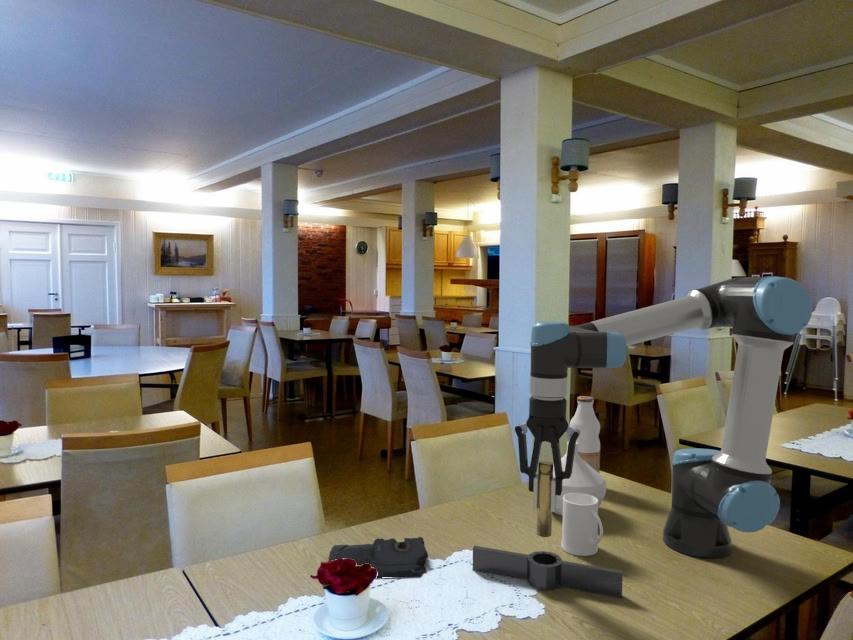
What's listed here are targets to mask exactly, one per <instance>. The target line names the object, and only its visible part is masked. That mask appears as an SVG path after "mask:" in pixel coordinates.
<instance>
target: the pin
mask: <svg viewBox="0 0 853 640" xmlns="http://www.w3.org/2000/svg"><path fill="white" fill-rule="evenodd" d="M553 464H554V463H553V462H551V461H542V460H541V461H538V469H537V472H538V474H537V475H538V506H537V509H536V510H537V512H536V514H537V515H536V535H537V536H539V537H541V538H549V537H551V536H552V526H553V522H552V520H553V512H551V485H552V479H553Z"/></svg>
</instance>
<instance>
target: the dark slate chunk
mask: <svg viewBox="0 0 853 640" xmlns="http://www.w3.org/2000/svg"><path fill="white" fill-rule="evenodd" d="M428 557H429V555H428V551H427V548H426V547H425V541H424V537H421V536H418V537H411V538H410V537H404V541H397V540H396V538H389V539H384V538H376V539H375V540H374V541H373V543H365V544H362V543H361V544H335V545H333V546H332V548H331V549H330V550H329V556H328V562H329V561H331V560H335V559H340V558H351V559H354V560H355V561H356V563H357V565H362V564H365V563H369V564H371V566H372V567H374V568H376V569H377V571H378V576H377V579H376V580H379V579H378V578H381V579H382V577H407V578H420V577H422V575H423V574H427V573H426V572H427V571H426V570H427V569H426V564H427V559H428ZM424 565H425V566H424Z"/></svg>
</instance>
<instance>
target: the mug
mask: <svg viewBox="0 0 853 640" xmlns="http://www.w3.org/2000/svg"><path fill="white" fill-rule="evenodd" d="M561 527H562V528H561V529H562V531H561V533H562V535H561V544H560V547H561V549H562V550H563V551H564V552H566V553H568V554H570V555H574V556H577V557H589V556H594V555H596V554H597V553H598V552H599V547H598V545H599V543H600V542H601V541H602V539H603V535H604V527H603V523H602V520H601V518H600V516H599V507H598V499H597V498H596V497H594V496H591V495H588V494H583V493H570V494H566V495H564V497H563V516H562V526H561ZM598 527H599V535H598Z"/></svg>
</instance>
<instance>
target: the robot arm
mask: <svg viewBox="0 0 853 640" xmlns="http://www.w3.org/2000/svg"><path fill="white" fill-rule="evenodd" d="M812 314H813V302H812V299H811V297H810V294H809V292H808V291H807V290H806V288H805V287H804V285H802V283H800V282H798V281H797V280H794V279H792V278H790V277H782V276H776V275H775V276H774V275H773V276H772V275H768V276H751V277H750V276H748V277H746V276H739V277H734V278H733V277H732V278H729V279H725V280H723V281H719V282H716V283H713V284H710V285H707V286H703V287H700V288H696V289H693V290H691V291H689V292H688V293H687V295H686V296H684V297H680V298H677V299H676V298H675V299H672V300H669V301H664V302H662V303H657V304H654V305H649V306H646V307H642V308H637V309H635V310H631V311H627V312H623V313H619V314H616V315H613V316H608V317H603V318H600V319H597V320H593V321H590V322H586V323H582V324H578V325H569V324H568V323H567V322H564V321H547V320H546V321H537V322H535V323H534V324H532V328H531V334H530V335H531V337H530V343H529V345H530V374H529V395H531V396H530V397H529V398H528V399H529V401H528V402H529V404H528V405H529V407H528V418H527V419H526V421H525V422H524V423H518V424H517V425H516V426H515V427H514V432H515V434H516V436H517V442H518V459H519V460H518V461H519V472H520V473H522V474H525V475H527V476H528V491H529V492H531V493H532V499H533V500H532V509H533V510H537V506H538V474H537V472H538V467H539V462H540V460H539V459H540V455H541V449H542V443H543V442H547V443H550V447H551V454H552V455H551V456H552V461H553V462H552V463H553V464H554V471H555V477H553V479H552V485H551V512H552V513H555V510H556V506H557V495H559V496H560V495H561V493H562V480H563V479H569V478H570V477H571V474H572V468H573V461H574V453H575V445H576V440H577V438H578V437H579V435H580V431H579V430H574V429H572V428H571V427H569V426H570V425H569V422H568V421H567V399H566V398H565V397H566V396H567V395H568V374H569V373H568V371H569V369H575V368H576V369H580V368H581V369H605V370H608V369H611V368H612V369H613V368H614V369H616V368H620V367H622V366H623V365H624V364H625V362H626V360H627V355H628V347H629V346H632V345H635V344H639V343H642V342H648V341H651V340H654V339H659V338H662V337H665V336H670V335H673V334H677V333H681V332H684V331H688V330H691V329H695V328H697V329H698V330H700V331H706V330H708V329H713V328H732V330H731V331H732V332H731V336H732V338H733V340H735V341H736V343H737V351H736V356H735V357H736V358H735V363H734V369H733V373H732V374H733V376H732V379H731V380H732V381H731V388H730V394H729V400H728V406H727V412H726V417H725V418H726V419H725V424H724V431H723V436H722V441H721V442H722V443H721V448H720V450H717V449H712V448H711V449H710V448H697V447H696V448H694V447H693V448H681V449H678V450H675V452H674V453H673V458H672V463H671V466H672V473H671V474H672V478H671V479H672V480H671V483H672V485H671V507H670V508H671V509H670V512H669V514H668V516H667V519H666V522H665V523H664V526H663V529H662V541H663V543H664V544H665V545H666V546H667V547H669V548H671V549H672V550H674V551H676V552H678V553H682V554H684V555H688V556H693V557H697V558H703V559H704V558H706V559H718V558H723V557H726V556H728V555H730V554H731V553H732V548H733V547H732V544H733V542H732V537H731V534H730V531H729V527H731V528H733V529H734V530H736V531H739V532H742V533H756V532H759V531H762V530H763V529H764V528H765V527H766V526H769V525H770V524H772V523H773V522H774V520H775V519H776V517H777V515H778V513H779V510H780V505H781V500H780V496H779V494H778V493H777V490H776V489H775V488H774V487H773V485H772V484H771V481H772V480H771V479H772V473H773V470H772V468H771V467H770V466H769V465H768V463H767V461H766V460H767V459H766V458H767V452H768V447H769V442H770V434H771V428H772V423H773V416H774V410H775V405H776V398H777V393H778V386H779V381H780V380H779V379H780V375H781V369H782V368H781V367H782V361H783V356H784V352H785V350H786V349H788V348H789V347H790V346H792V345H794V342H795V341H794V340H795V336H796V334H797V333H799V332H801V331H802V330H804V327H807V326H808V324H809V323H810V321H811V318H812ZM528 429H529V431H530V433H531V434H532V436H533V437H534V440H533V446H532V447H533V449H532V451H531V452H532V453H531V457H530V458H531V459H530V464H529V461H528V447H527V446H528V443H527V433H528ZM565 433H567V436H566V437H567V439H568V442H569V444H568V451H567V450H566V452H567V458H566V466H565V471H562V462H561V458H562V455H561V449H560V448H561V447H560V444H561V443H560V439H561V438H562V437H563V436H564V435H565ZM569 439H570V440H569Z"/></svg>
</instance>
